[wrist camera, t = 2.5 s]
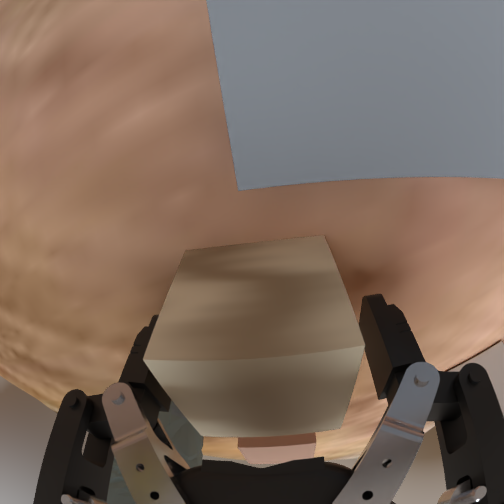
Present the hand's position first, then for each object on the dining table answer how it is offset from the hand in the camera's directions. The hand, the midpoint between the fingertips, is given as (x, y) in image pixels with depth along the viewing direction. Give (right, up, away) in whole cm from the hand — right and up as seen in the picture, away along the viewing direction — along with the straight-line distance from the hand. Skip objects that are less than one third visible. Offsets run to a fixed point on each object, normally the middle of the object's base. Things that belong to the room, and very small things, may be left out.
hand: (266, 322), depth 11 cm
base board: (+6, +13, -6) cm, 16 cm away
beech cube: (0, +1, +2) cm, 2 cm away
